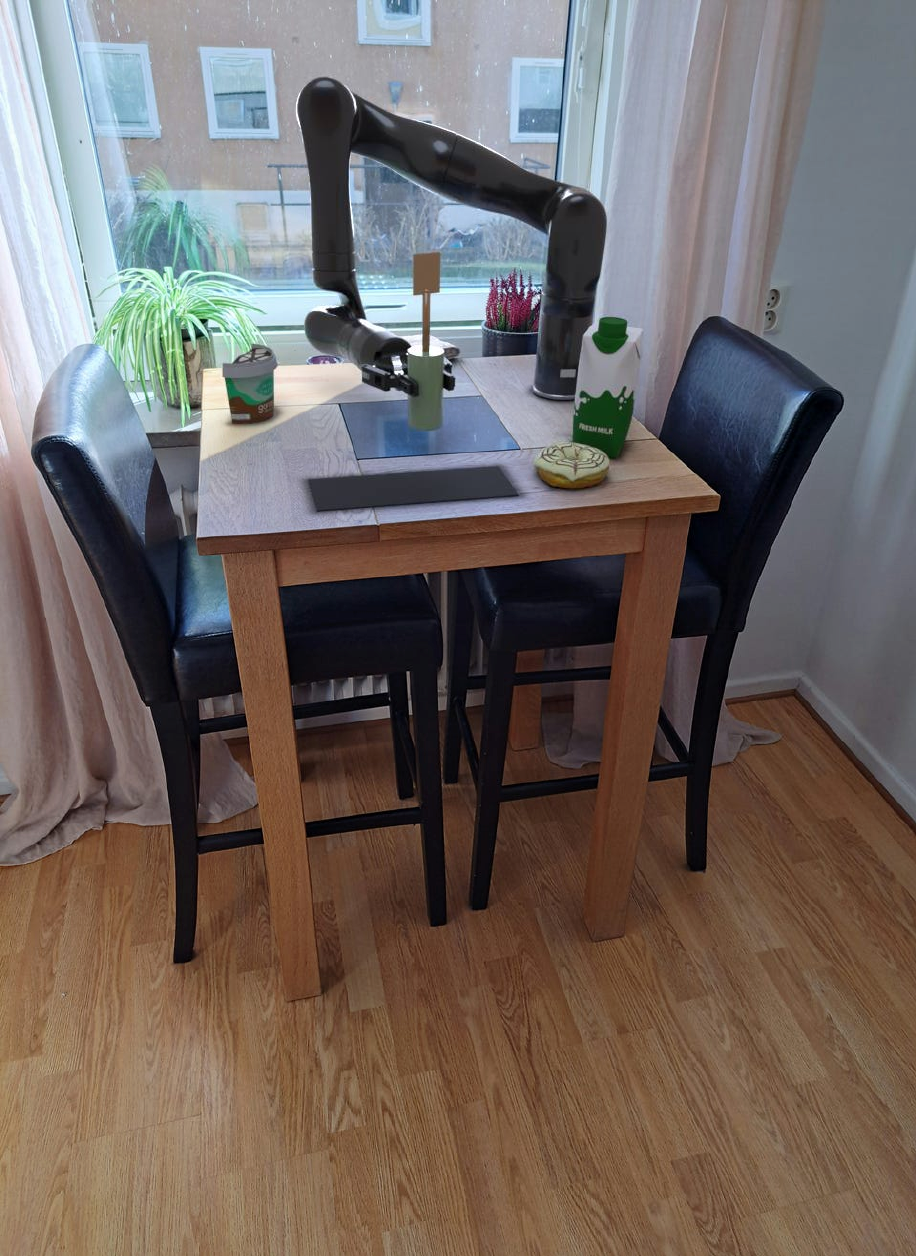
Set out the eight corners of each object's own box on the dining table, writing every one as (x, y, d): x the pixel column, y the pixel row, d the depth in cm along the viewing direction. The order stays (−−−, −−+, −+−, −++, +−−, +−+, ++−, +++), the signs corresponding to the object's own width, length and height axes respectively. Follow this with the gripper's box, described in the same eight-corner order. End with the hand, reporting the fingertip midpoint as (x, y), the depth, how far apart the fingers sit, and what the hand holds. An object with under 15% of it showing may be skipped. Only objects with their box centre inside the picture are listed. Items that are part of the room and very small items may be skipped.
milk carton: (565, 453, 137) (579, 320, 126) (578, 433, 144) (592, 306, 133) (621, 462, 134) (641, 328, 123) (631, 442, 142) (651, 313, 131)
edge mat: (498, 467, 131) (498, 466, 131) (518, 495, 123) (518, 494, 123) (308, 480, 125) (308, 479, 125) (316, 511, 117) (316, 510, 117)
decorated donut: (519, 476, 129) (521, 451, 127) (564, 456, 135) (567, 433, 133) (576, 498, 123) (579, 473, 121) (620, 477, 130) (624, 453, 127)
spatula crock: (431, 416, 135) (433, 248, 121) (449, 427, 131) (453, 255, 118) (401, 421, 133) (400, 251, 119) (418, 433, 129) (419, 259, 115)
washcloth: (352, 355, 175) (351, 339, 173) (429, 344, 183) (430, 328, 181) (381, 372, 167) (381, 355, 165) (461, 359, 175) (461, 343, 173)
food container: (264, 430, 140) (259, 367, 134) (228, 426, 141) (221, 364, 135) (292, 405, 150) (288, 345, 145) (258, 401, 151) (252, 342, 145)
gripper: (337, 335, 133) (389, 368, 121) (420, 324, 139) (478, 354, 128) (339, 384, 137) (390, 420, 125) (420, 371, 144) (476, 404, 132)
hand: (434, 387), depth 126 cm, fingers closed on spatula crock, 5 cm apart
